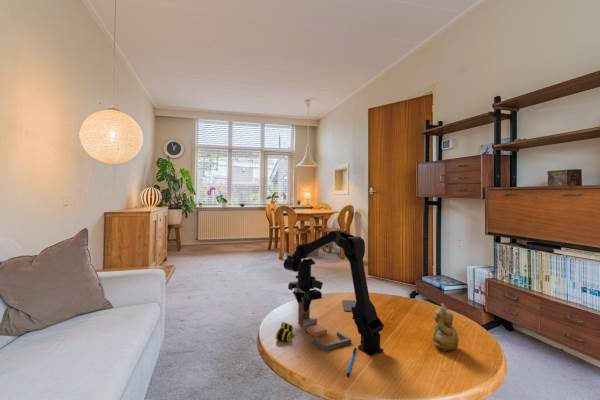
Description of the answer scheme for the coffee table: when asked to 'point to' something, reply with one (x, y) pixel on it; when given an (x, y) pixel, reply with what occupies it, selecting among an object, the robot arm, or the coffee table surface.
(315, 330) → the tile
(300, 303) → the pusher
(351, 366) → the pen
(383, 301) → the coffee table surface
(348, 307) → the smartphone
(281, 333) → the opera glasses
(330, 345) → the tile bay
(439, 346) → the decorative figurine
